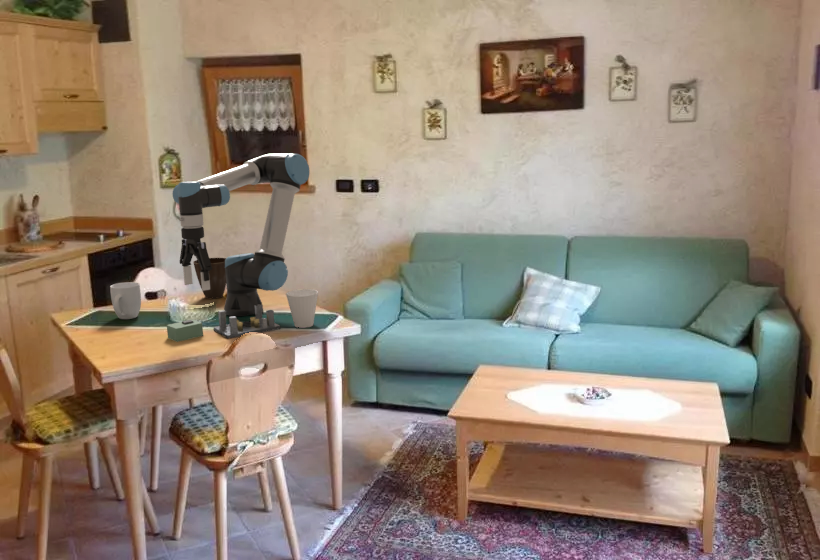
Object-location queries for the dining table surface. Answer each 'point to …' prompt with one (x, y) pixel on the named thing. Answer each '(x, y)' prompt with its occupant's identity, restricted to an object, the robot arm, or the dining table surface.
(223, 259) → the plant pot
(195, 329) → the block
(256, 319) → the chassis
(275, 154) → the robot arm
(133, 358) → the dining table surface
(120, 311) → the mug
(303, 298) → the cup
